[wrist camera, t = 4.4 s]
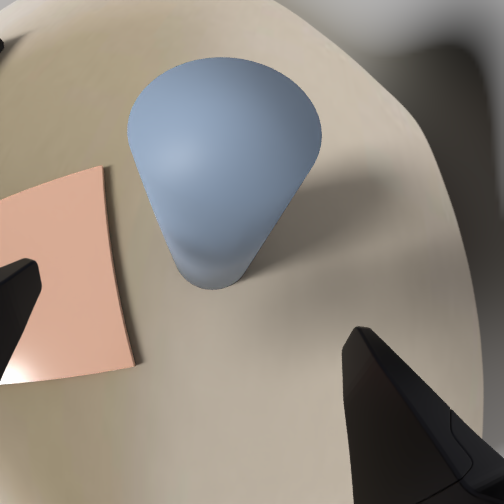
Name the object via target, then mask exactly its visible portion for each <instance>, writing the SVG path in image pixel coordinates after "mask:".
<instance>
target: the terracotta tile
mask: <svg viewBox="0 0 504 504" xmlns="http://www.w3.org/2000/svg"><path fill="white" fill-rule="evenodd" d="M23 258H29V259H32V260H35V261H36V262H37V264H38V267H39V272H40V277H41V282H42V290H41V293H40V295H39V297H38V299H37V302H36V304H35V306H34V308H33V311H32V313H31V315H30V318H29V320H28V322H27V325H26V327H25V330H24V332H23V334H22V336H21V338H20V340H19V342H18V344H17V346H16V348H15V350H14V352H13V354H12V357H11V359H10V361H9V363H8V365H7V367H6V369H5V372H4V374H3V376H2V379H1V381H0V384H12V383H23V382H34V381H43V380H51V379H59V378H67V377H74V376H81V375H88V374H94V373H100V372H106V371H112V370H118V369H124V368H129V367H134V366H136V364H135V361H134V357H133V353H132V349H131V345H130V341H129V337H128V333H127V329H126V325H125V320H124V316H123V311H122V306H121V301H120V296H119V291H118V286H117V280H116V274H115V268H114V262H113V255H112V249H111V241H110V234H109V225H108V216H107V206H106V195H105V182H104V168H103V166H102V165H100V166H97V167H93V168H90V169H86V170H83V171H80V172H77V173H73V174H70V175H67V176H64V177H61V178H58V179H55V180H52V181H49V182H46V183H43V184H41V185H38V186H35V187H32V188H30V189H27V190H24V191H22V192H19V193H16V194H14V195H11V196H9V197H6V198H4V199H2V200H0V267H3V266H5V265H8V264H10V263H13V262H15V261H18V260H20V259H23Z"/></svg>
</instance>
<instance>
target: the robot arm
mask: <svg viewBox="0 0 504 504" xmlns="http://www.w3.org/2000/svg"><path fill="white" fill-rule="evenodd" d="M41 290H42V282H41V277H40V272H39V267H38V264H37V262H36V261H35V260H32V259H29V258H23V259H20V260H18V261H15V262H13V263H10V264H8V265H5V266H3V267H0V381H1V379H2V376H3V374H4V372H5V369H6V367H7V365H8V363H9V361H10V359H11V357H12V354H13V352H14V350H15V348H16V346H17V344H18V342H19V340H20V338H21V336H22V334H23V332H24V330H25V327H26V325H27V322H28V320H29V318H30V315H31V313H32V311H33V308H34V306H35V304H36V302H37V299H38V297H39V295H40V293H41ZM342 373H343V401H344V410H345V418H346V426H347V434H348V443H349V453H350V463H351V474H352V485H353V499H354V504H504V458H503V457H502V456H501V455H499V454H498V453H497V452H496V451H495V450H494V449H493V448H492V447H490V446H489V445H488V444H487V443H486V442H485V441H484V440H483V439H481V438H480V437H479V436H478V435H477V434H476V433H475V432H474V431H473V430H472V429H471V428H470V427H469V426H468V425H467V424H466V423H465V422H464V421H463V420H462V419H461V418H460V417H459V416H458V415H457V414H456V413H455V412H454V411H453V410H452V409H450V407H449V406H448V405H447V404H446V403H445V402H444V401H443V400H442V399H441V398H440V397H439V396H438V395H437V394H436V393H435V392H434V391H433V390H432V389H431V388H430V387H429V386H428V385H427V384H426V383H425V382H424V381H423V380H422V379H421V378H420V377H419V376H418V375H417V374H416V373H415V372H414V371H413V370H412V369H411V368H410V367H409V366H408V365H407V364H406V363H405V362H404V361H403V360H402V359H401V358H400V357H399V356H398V355H397V354H396V353H395V352H394V351H393V350H392V349H391V348H390V347H389V346H388V345H387V344H386V343H385V342H384V341H383V340H382V339H381V338H380V337H379V336H378V335H377V334H376V333H374V332H373V331H372V330H371V329H370V328H368V327H360V326H357V327H355V328H354V329H353V331H352V332H351V334H350V336H349V338H348V339H347V341H346V343H345V344H344V346H343V349H342Z"/></svg>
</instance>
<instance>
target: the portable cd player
mask: <svg viewBox="0 0 504 504" xmlns="http://www.w3.org/2000/svg"><path fill="white" fill-rule="evenodd" d="M3 49H4V42H3V41H2V40H1V39H0V52H1V51H2V50H3Z"/></svg>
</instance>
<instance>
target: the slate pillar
mask: <svg viewBox="0 0 504 504" xmlns="http://www.w3.org/2000/svg"><path fill="white" fill-rule="evenodd" d="M321 139H322V132H321V124H320V120H319V116H318V114H317V112H316V109H315V107H314V105H313V104H312V102H311V100H310V99H309V98H308V96H307V95H306V94H305V93H304V91H303V90H302V89H301V88H300V87H299V86H298V85H297V84H295V83H294V82H293V81H292V80H290V79H289V78H288V77H286V76H285V75H283V74H281V73H280V72H278V71H276V70H274V69H272V68H270V67H267V66H265V65H262V64H259V63H256V62H253V61H249V60H244V59H237V58H223V57H218V58H206V59H199V60H195V61H191V62H187V63H184V64H181V65H179V66H176V67H174V68H172V69H170V70H168V71H166V72H165V73H163V74H161V75H160V76H158V77H157V78H156V79H154V80H153V81H152V82H151V83H150V84H149V85H148V86H147V87H146V88H145V89H144V90H143V91H142V92H141V94H140V95H139V96H138V98H137V100H136V101H135V103H134V105H133V107H132V110H131V113H130V115H129V120H128V141H129V146H130V149H131V152H132V154H133V157H134V160H135V163H136V166H137V168H138V171H139V174H140V177H141V179H142V182H143V185H144V187H145V190H146V193H147V195H148V198H149V201H150V203H151V206H152V208H153V211H154V213H155V216H156V218H157V221H158V223H159V226H160V228H161V231H162V233H163V236H164V238H165V240H166V243H167V245H168V248H169V250H170V252H171V255H172V257H173V259H174V262H175V264H176V266H177V268H178V270H179V272H180V273H181V275H182V276H183V277H184V278H185V279H186V280H187V281H188V282H190V283H191V284H193V285H195V286H197V287H200V288H203V289H211V290H213V289H222V288H225V287H228V286H230V285H232V284H233V283H235V282H236V281H237V280H239V279H240V278H241V277H242V275H243V274H244V273H245V271H246V270H247V268H248V267H249V265H250V263H251V262H252V260H253V259H254V257H255V256H256V254H257V253H258V251H259V249H260V248H261V246H262V245H263V243H264V242H265V240H266V238H267V237H268V235H269V234H270V232H271V231H272V229H273V228H274V226H275V224H276V223H277V221H278V220H279V218H280V217H281V215H282V213H283V212H284V210H285V209H286V207H287V206H288V204H289V203H290V201H291V199H292V198H293V196H294V195H295V193H296V192H297V190H298V188H299V187H300V185H301V184H302V182H303V181H304V179H305V177H306V176H307V174H308V173H309V171H310V170H311V168H312V166H313V165H314V163H315V161H316V159H317V157H318V154H319V151H320V147H321Z"/></svg>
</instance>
